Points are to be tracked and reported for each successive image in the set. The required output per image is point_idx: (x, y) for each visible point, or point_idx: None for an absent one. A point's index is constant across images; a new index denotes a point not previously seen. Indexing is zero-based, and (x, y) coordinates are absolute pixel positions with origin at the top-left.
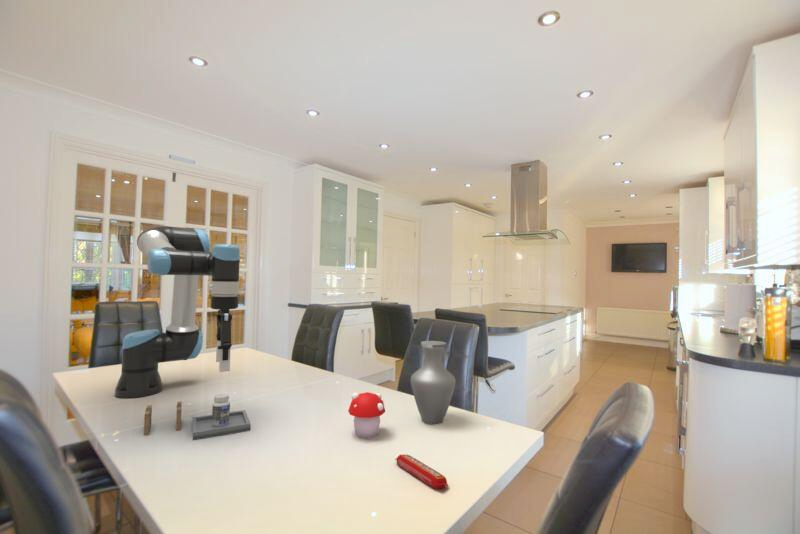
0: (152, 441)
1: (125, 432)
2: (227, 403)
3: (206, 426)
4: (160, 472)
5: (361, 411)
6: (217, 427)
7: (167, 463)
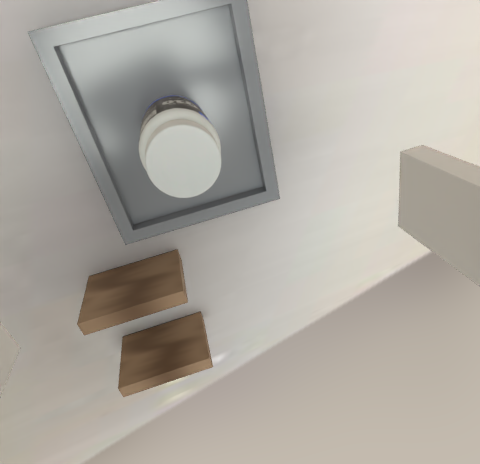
0: (249, 285)
1: None
2: (201, 118)
3: None
4: None
5: None
6: None
7: (395, 204)
